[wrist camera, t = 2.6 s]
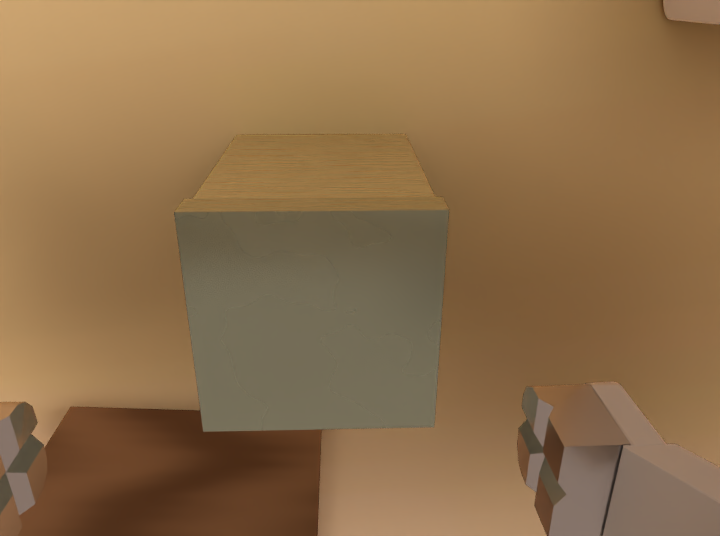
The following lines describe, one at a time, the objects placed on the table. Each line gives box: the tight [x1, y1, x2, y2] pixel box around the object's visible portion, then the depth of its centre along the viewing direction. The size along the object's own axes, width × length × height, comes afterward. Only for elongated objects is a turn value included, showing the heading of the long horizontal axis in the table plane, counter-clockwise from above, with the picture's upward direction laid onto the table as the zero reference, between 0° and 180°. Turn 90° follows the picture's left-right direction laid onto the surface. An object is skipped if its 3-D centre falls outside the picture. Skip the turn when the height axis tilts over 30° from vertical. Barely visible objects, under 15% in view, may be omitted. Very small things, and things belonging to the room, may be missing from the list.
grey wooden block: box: [174, 134, 449, 432], centre depth 16 cm, size 5×5×7 cm
